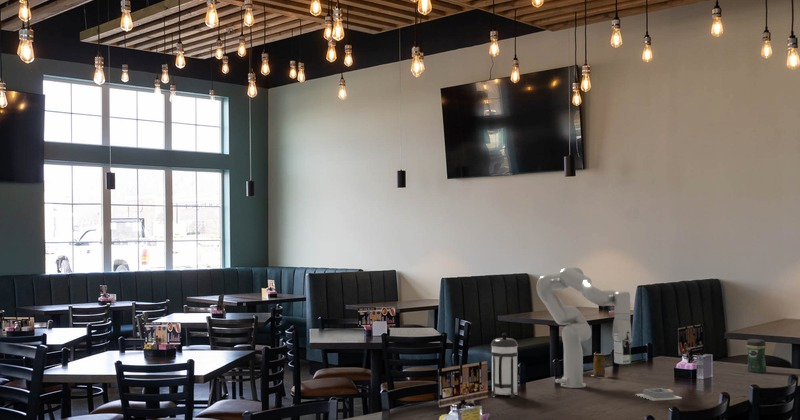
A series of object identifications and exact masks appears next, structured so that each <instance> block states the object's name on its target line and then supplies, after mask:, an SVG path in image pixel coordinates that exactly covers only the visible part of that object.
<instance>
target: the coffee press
mask: <svg viewBox="0 0 800 420" xmlns="http://www.w3.org/2000/svg"><path fill="white" fill-rule="evenodd" d="M501 336H502V337H498V338H497V337H496V338H495V339H493V340H492V341H491V343H490V346H491V353H490V354H491V394H490V396H491V397H492V398H496V396H497V395H500V396H503V395H504V396H509V397H510V399H515V398H516V396H518V395H519V392H518V355H519V354H518V353H519V352H518V346H519V344H518V342H517V341H516V339H514V338H511V337H510V338H509V337H507V333H506V332H503V333H502V334H501ZM515 395H516V396H515Z"/></svg>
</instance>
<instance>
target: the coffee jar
mask: <svg viewBox="0 0 800 420" xmlns="http://www.w3.org/2000/svg"><path fill="white" fill-rule="evenodd" d="M746 348H747V365H746V366H747V367H746V369H747V372H749V373H754V372H756V374H761V373H762V374H765V373H766V372H767V364H766V351H765V350H766V348H767V345H766V341H765V339H760V338H759V339H758V338H749V339H747V340H746Z"/></svg>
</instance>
